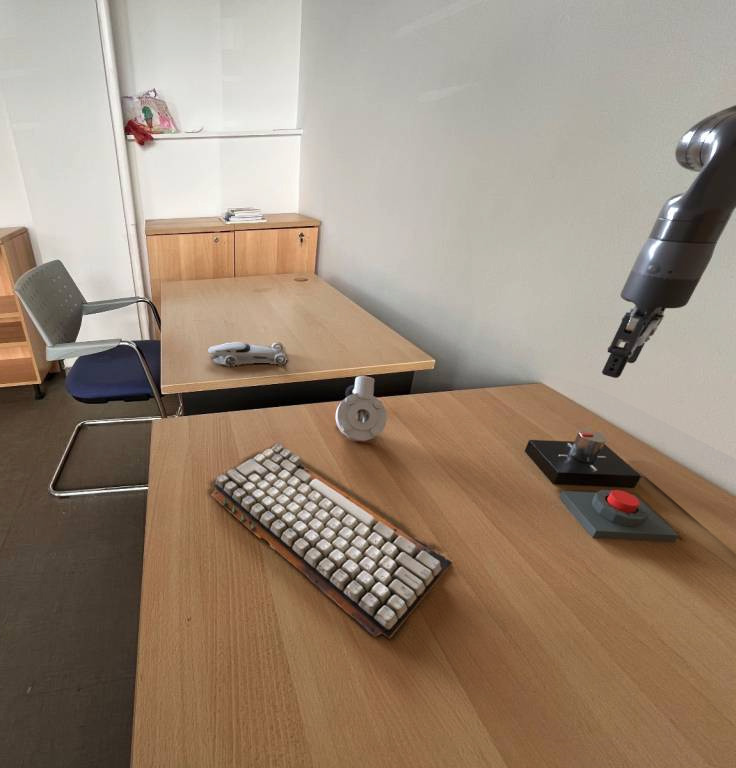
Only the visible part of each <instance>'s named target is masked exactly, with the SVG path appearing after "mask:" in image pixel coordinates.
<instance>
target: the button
mask: <svg viewBox="0 0 736 768" xmlns="http://www.w3.org/2000/svg"><path fill="white" fill-rule="evenodd" d="M612 490H613V489H612ZM607 503H608V504H609V505H610V506H612V507H613V508H615V509H617V510H619V511H622V512H625V513H634V512H635V511H636V509H637V507H638V506H639V504H640V502H639V500H638V499H637V498H636V497H635V496H633V495H631V493H629V492H627V491H624V490H620V489H619V490H618V489H614V490H613V491H611V493H610V495H609V496H608V498H607Z"/></svg>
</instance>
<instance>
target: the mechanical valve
mask: <svg viewBox="0 0 736 768" xmlns="http://www.w3.org/2000/svg"><path fill="white" fill-rule="evenodd" d="M374 387H375V378H373V377H372V376H371V377H370V376H364V375H361V376H356V377H355V379H354V384H352V385H349V386H347V388H346V390H345V398H344V399H342V401H341V402H340V403H339V405H338V406H337V408H336V411H335V423H336V426H337V427H338V430H339V431H340V433H341V434H342V435H344V436H345V437H346V438H348V439H350V440H353V441H356V442H364V441H370V440H372V439H375V438H376V437H378V436H379V435H380V434H381V433H382V432H383V431H384V429H385V427H386V425H387V421H388V415H387V410H386V408H385V406H384V403H383V402H382V400H380V399H379V398H377V397H376V396H374V392H375V388H374ZM357 414H358V415H357Z"/></svg>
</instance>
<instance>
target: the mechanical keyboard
mask: <svg viewBox="0 0 736 768" xmlns="http://www.w3.org/2000/svg"><path fill="white" fill-rule="evenodd" d="M213 488H214V490H215V491H213V492H212V493H211V497H212V498H213V499H215V500H216V501H217V502H218V503H219V504H220V505H221V506H223V508H225V509H226V510H227V511H228V512H229V513H231V515H233V516H234V517H235V518H236V519H237V520H238V521H239V522H241V524H243V525H244V526H245V527H246V528H247V529H248V530H249V531H250V532H252V534H254V535H255V536H256V537H258V539H260V540H261V539H264V540H265V541H267V542H268V544H269V548H271V549H272V550H274V551H275V552H277V553H278V554H280V556H282V557H283V558H284V559H285V560H287V561H288V562H289V563H291V564H292V565H293V567H295V568H296V569H298V570H299V571H300V572H301V573H302V574H303V575H305V576H306V577H307V579H308V580H309V581H310V582H311V583H312V584H313V585H315V586H316V587H317V588H318V589H319V590H320V591H321V592H322V594H324V595H325V596H326V597H327V598H329V599H330V600H332V602H334V603H335V604H336V605H337V606H338V607H339V608H341V609H342V610H343V612H344V613H345V614H347V615H348V616H350V617H351V619H352V620H354V621H355V622H356V623H357V624H358V625H359V626H360V627H361V628H362V629H364V630H365V631H367V632H368V633H369V635H371V636H373V637H374V638H378V637H379V636H380V635H383V636H385V637H386V638H387V639H393V638H394V636H395V635H396V634H397V633H398V631H400V629H402V627H403V626H404V624H405V623H406V622H407V620H408V619H409V618H410V617H411V615H412V614H413V613H414V612H415V611H416V610H417V608H418V607H419V605H421V603H422V602H423V601H424V600H425V598H426V597H427V596H428V594H429V593H430V592H431V591H432V590H433V588H434V587H435V586H436V584H437V583H438V582H439V581H440V579H442V577H443V576H444V575H445V573H446V572H447V571H448V569H449V568H450V567H451V566H452V564H453V562H452V561H451V560H450V559H447V558H446V557H445V556H443V555H441V554H439V553H437V552H435V551H434V550H432V549H430V548H428V546H427V544H424V543H423V542H421V541H419V540H417V539H415V538H413V537H412V536H410V535H409V534H408V533H406V532H405V531H403V530H401V529H399V528H398V527H396V526H395V525H394V524H393V523H390V522H389V521H387V520H385V519H384V518H383V517H381V516H380V515H379V514H377V513H375V512H374V511H372V510H370V509H369V508H367V506H365V505H362V504H361V503H360V502H359V501H357V500H355V499H354V498H353V497H351V496H350V495H348V494H346V493H345V492H343V491H342V490H341V489H338V488H337V487H336V486H334V485H333V484H331V483H329V481H326V479H324V478H322V477H321V476H320V475H318V474H316V473H314V472H313V471H312V470H310V469H309V468H306V467H305V466H304V465H303V462H302V459H301V457H300V456H298V455H296V454H292V452H291V451H290V450H289V449H286V448H285V449H284V448H283V446H282V445H281V444H279V443H276V444H275V445H273V447H272V448H267V449H266V450H264V451H263V452H262V453H258V454H257V455H255V456H254V457H252V458H249V459H248V460H247V461H245V462H243V463H241V464H240V465H239V466H236V468H232V469H229V470H228V471H227V472H226V474H221V475H219V476H218V477H216V481H215V485H213Z"/></svg>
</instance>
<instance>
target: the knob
mask: <svg viewBox="0 0 736 768" xmlns="http://www.w3.org/2000/svg"><path fill="white" fill-rule="evenodd" d="M606 442H607V437H606V436H605V435H603V434H602V433H601V432H598V431H595V430H592V429H585V428H584V429H580V430H578V433H577V435H576V436H575V439H574V443H573V445H572V447H571V449H570V451H569V454H570V455H571V456H572V457H573V458H574V459H576V460H578V461H581V462H585V463H593V462H595V460H596V459H597V457H598V455H599V453H600V451H601V449H602V447H603V445H604V444H606Z"/></svg>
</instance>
